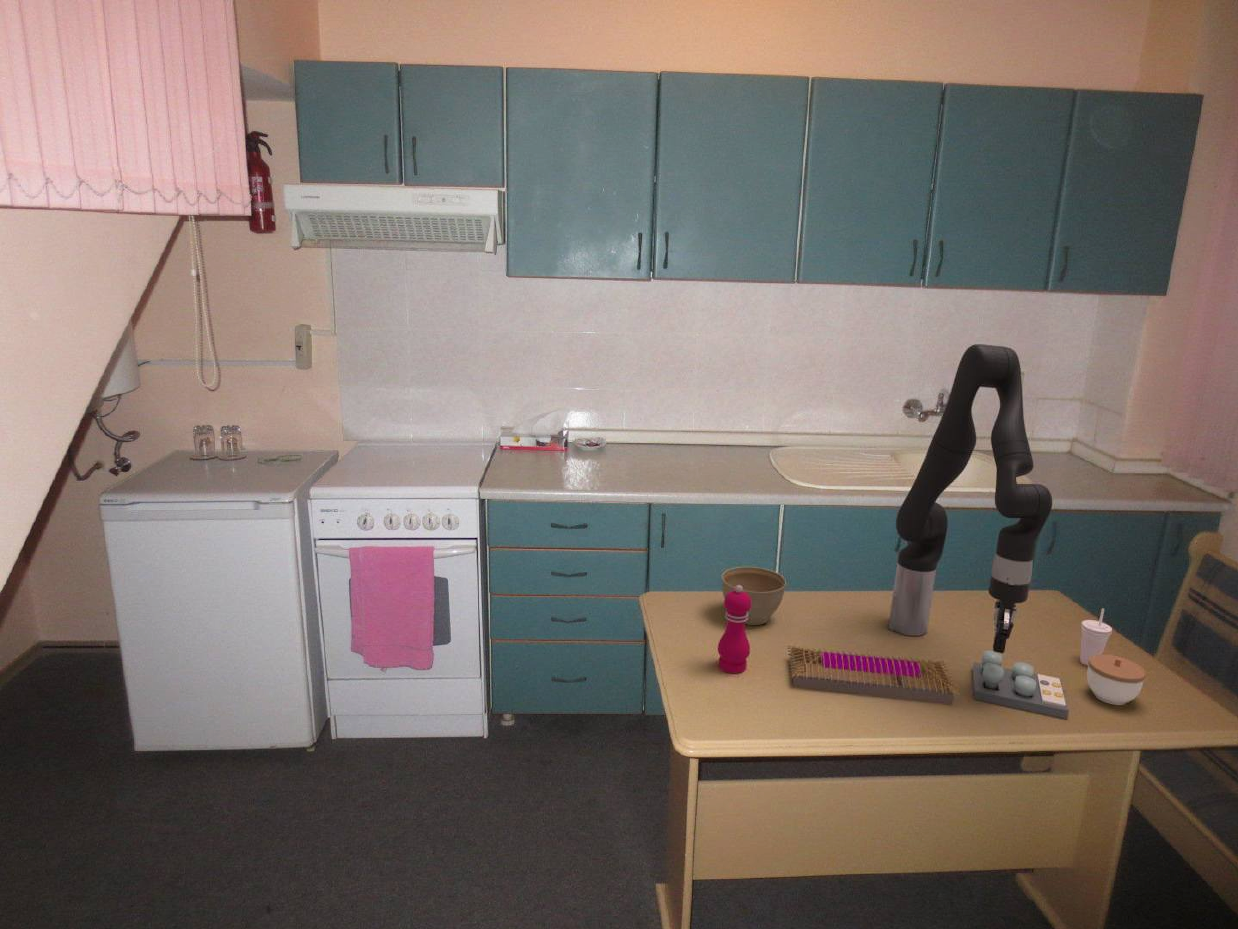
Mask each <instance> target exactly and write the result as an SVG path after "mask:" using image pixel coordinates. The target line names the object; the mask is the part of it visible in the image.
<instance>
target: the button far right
mask: <svg viewBox="0 0 1238 929" xmlns="http://www.w3.org/2000/svg"><path fill="white" fill-rule="evenodd" d="M1034 669H1035V668H1034V667H1033V666H1032V665H1031V664H1028V663H1026V662H1020V661H1017V662H1014V663H1013V668H1012V670H1013V672H1012V676H1013V677H1014V678H1015V680H1016V677H1017V676H1027V677H1030V678H1032V676H1033V674H1034V671H1035V670H1034Z"/></svg>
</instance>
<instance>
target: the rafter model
mask: <svg viewBox="0 0 1238 929" xmlns="http://www.w3.org/2000/svg"><path fill="white" fill-rule="evenodd" d="M806 648H807V649H806ZM806 648H804V647H803V646H802V647H801V646H799V647H797V646H794V645H787V649H788V650H787V651H788V659H789V660H788V661H789V662H790V663H789V665H790V666H789V668H790V672H791V673H790V678H792V684H793V685H792V687H793V688H794V689H795V688H796V689H803V690H813V691H821V692H823V691H824V692H833V693H841V694H850V695H861V696H870V697H877V698H878V697H880V698H887V699H888V698H889V699H899V700H905V701H915V702H916V701H917V702H924V703H925V702H927V703H934V704H944V705H953V703H954V697H955V694H957V695H958V696H960V695H961V694H960V693H959V690H957V687H956V684H955V683H953V682H954V680H953V679H952V676H950V673H949V670H948V669H947V666H946V665H945V664H946V663H944V661H943V660H940V661H939V660H936V661H934V660H932V659H931V660H930V659H927V660H926V659H924V658H922V660H920V659H919V658H916V659H913V658H911V657H910V659H908V658H907V657H904V659H903V658H901V657H900V656H897V657H898V658H896V657H894V656H893V655H892V656H891V657H889V656H887V655H885V657H884V656H883V655H881V654H879V656H878V655H875V654H873V656H872V655H870V653H867V655H865V654H864V653H863V652H861V654H858V653H857V652H854V654H853V653H851V652H850V651H848V653H847V652H845V651H844V650H843V651H842V653H841V652H840V651H839V650H836V652H834V651H833V650H832V649H831V650H830V651H828V650H827V649H824V651H823V650H821V649H820V648H818V650H816V649H815V648H814V647H813V648H812V650H810V648H809V647H806ZM813 663H814V664H815V667H816V668H817V669H816V672H817V676H814V671H813ZM818 664H821V668H822V672H823V676H824V677H821V676H820V672H819V669H820V668H819V665H818ZM809 665H810V672H811V676H810V675H809V676H808V666H809ZM826 669H828V671H829V675H830V676H829V677H830V678H829V677H826ZM832 669H833V670H835V671H834V672H835V674H836V678H833V676H832V672H831V671H832ZM838 670H841V674H842V678H843V679H841V678H840V679H839V672H838ZM845 671H847V673H848V677H849V679H848V680H847V679H846V678H845V673H844V672H845ZM851 671H852V672H854V676H855V679H856V680H852V674H851V673H852V672H851ZM858 672H860V674H861V678H862V681H859V678H858V675H857V674H858ZM804 673H805V674H804ZM864 673H866V674H867V678H868V681H869V682H867V681H865V675H864ZM872 673H873V676H874V679H875V682H872V680H871V674H872ZM801 674H802V675H801ZM877 674H879V676H880V679H881V681H882V683H878V676H877ZM884 675H886V676H885V677H886V678H887V681H888V684H887V683H886V684H885V680H884ZM890 675H891V676H892V678H893V680H894V682H895V683H894V684H891V677H890ZM904 677H905V678H904ZM910 678H912V681H913V684H914V685H915V687H912V686H911V681H910ZM916 678H918V680H919V682H920V685H921V688H920V687H918V684H917V683H918V682H917V679H916ZM923 678H924V680H925V683H926V685H927V687H928V688H924V681H923ZM929 678H930V680H931V683H932V685H933V687H934V689H933V688H932V689H931V685H930V680H929ZM905 679H906V680H905ZM935 679H936V680H935ZM906 681H907V683H906ZM936 681H937V684H938V686H939V688H940V689H938V688H937V684H936ZM907 685H908V686H907Z"/></svg>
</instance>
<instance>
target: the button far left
mask: <svg viewBox="0 0 1238 929" xmlns="http://www.w3.org/2000/svg"><path fill="white" fill-rule="evenodd" d="M1002 662H1003V654H1002V653H998V652H994V651H993V650H989V649H988V650H987V649H986V650H984V651H983V652H982V657H981V663H982V665H983V666H984V665H985V664H987V663H992V664H996V665H999V666H1001V667H1002Z"/></svg>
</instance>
